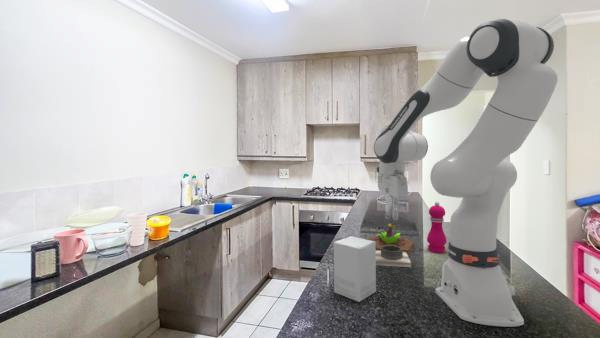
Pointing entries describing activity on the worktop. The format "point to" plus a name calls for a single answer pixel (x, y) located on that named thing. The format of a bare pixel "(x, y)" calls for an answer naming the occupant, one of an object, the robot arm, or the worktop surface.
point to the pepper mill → (436, 229)
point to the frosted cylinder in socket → (390, 207)
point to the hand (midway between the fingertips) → (391, 206)
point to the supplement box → (355, 268)
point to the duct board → (392, 257)
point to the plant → (392, 240)
